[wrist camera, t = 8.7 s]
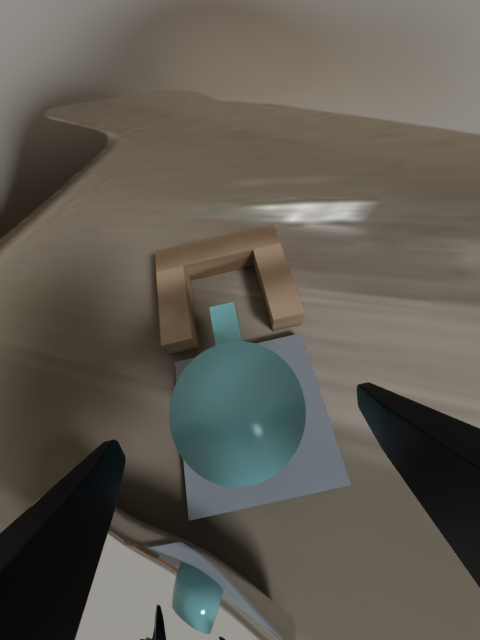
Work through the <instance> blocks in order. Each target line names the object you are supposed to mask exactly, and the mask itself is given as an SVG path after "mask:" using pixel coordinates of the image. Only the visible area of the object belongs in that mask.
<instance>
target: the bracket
mask: <svg viewBox="0 0 480 640" xmlns="http://www.w3.org/2000/svg"><path fill="white" fill-rule="evenodd" d="M155 261H156V276H157V291H158V306H159V321H160V336H161V346H162V347H163V348H165V349H166V350H167V351H169V352H170V353H171V354H175V353H180V352H184V351H188V350H193V349H197V348H200V345H199V338H198V331H197V323H196V316H195V309H194V302H193V294H192V287H191V280H195V279H199V278H203V277H207V276H212V275H216V274H220V273H225V272H229V271H233V270H237V269H242V268H246V267H250V266H255V269H256V273H257V276H258V280H259V283H260V287H261V290H262V294H263V298H264V301H265V305H266V308H267V312H268V315H269V319H270V322H271V326H272V330H273V331H276V330H280V329H284V328H289V327H293V326H298V325H301V323H302V320H303V317H304V314H305V312H304V309H303V306H302V303H301V301H300V298H299V295H298V292H297V289H296V287H295V284H294V281H293V278H292V275H291V272H290V270H289V267H288V264H287V261H286V258H285V256H284V253H283V250H282V247H281V244H280V241H279V239H278V236H277V233H276V230H275V227H274V225H273V224H271V225H266V226H262V227H258V228H254V229H249V230H245V231H241V232H237V233H232V234H228V235H224V236H220V237H215V238H211V239H207V240H203V241H198V242H194V243H190V244H186V245H181V246H177V247H173V248H169V249H164V250H160V251H156V252H155Z"/></svg>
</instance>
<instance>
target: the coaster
mask: <svg viewBox="0 0 480 640" xmlns="http://www.w3.org/2000/svg"><path fill="white" fill-rule="evenodd" d="M256 344H258V345H261V346H264V347H266V348H268V349H270V350H272V351H273V352H275V353H276V354H278V355H279V356H280V357H281V358H282V359H283V360H284V361H285V362H286V363H287V364H288V365H289V366H290V367H291V369H292V370H293V372H294V373H295V375H296V377H297V379H298V381H299V383H300V385H301V388H302V391H303V395H304V399H305V407H306V421H305V428H304V432H303V436H302V439H301V442H300V444H299V446H298V449H297V450H296V452H295V454H294V455H293V457H292V458H291V460H290V461H289V462H288V463H287V465H286V466H285V467H284V468H283V469H281V470H280V471H279V472H278V473H277V474H275V475H274V476H273V477H271V478H270V479H268V480H265V481H263V482H261V483H259V484H255V485H252V486H247V487H227V486H221V485H218V484H215V483H212V482H210V481H208V480H206V479H204V478H202V477H201V476H200V475H198V474H197V473H196V472H194V471H193V470H192V469H191V468H190V467H189V466H188V465H187V463H186V462H185V461H184V459H183V461H184V473H185V484H186V495H187V506H188V518H189V521H191V520H195V519H200V518H204V517H209V516H213V515H218V514H222V513H227V512H232V511H236V510H241V509H245V508H250V507H254V506H259V505H263V504H268V503H273V502H277V501H282V500H286V499H291V498H295V497H300V496H304V495H309V494H314V493H318V492H323V491H327V490H332V489H336V488H341V487H345V486H350V485H351V483H350V480H349V477H348V474H347V471H346V468H345V465H344V462H343V459H342V456H341V453H340V450H339V447H338V444H337V441H336V438H335V435H334V432H333V429H332V426H331V423H330V420H329V417H328V414H327V411H326V408H325V405H324V402H323V399H322V396H321V393H320V390H319V387H318V384H317V381H316V378H315V375H314V372H313V369H312V366H311V363H310V360H309V357H308V354H307V351H306V348H305V345H304V342H303V339H302V336H301V333H300V334H295V335H291V336H286V337H282V338H278V339H273V340H269V341H265V342H260V343H256ZM193 359H194V358H190V359H186V360H181V361H177V362H175V372H176V383H177V381H178V379H179V377H180V375H181V374H182V372H183V371H184V369H185V368H186V367H187V366H188V364H189V363H190V362H191V361H192V360H193Z"/></svg>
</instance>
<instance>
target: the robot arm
mask: <svg viewBox="0 0 480 640" xmlns="http://www.w3.org/2000/svg"><path fill="white" fill-rule="evenodd" d="M357 400H358V406H359V409H360V411H361V412H362V414H363V416H364V418H365V420H366V421H367V423H368V425H369V427H370V428H371V430H372V432H373V434H374V436H375V437H376V439H377V441H378V443H379V444H380V446H381V448H382V449H383V451H384V452H385V454H386V455H387V457H388V458H389V460H390V461H391V462H392V464H393V465H394V467H395V468H396V469H397V471H398V472H399V474H400V475H401V477H402V478H403V479H404V481H405V482H406V484H407V485H408V486H409V488H410V489H411V491H412V492H413V494H414V495H415V496H416V498H417V499H418V501H419V502H420V504H421V505H422V506H423V508H424V509H425V511H426V512H427V513H428V515H429V516H430V518H431V519H432V521H433V522H434V523H435V525H436V526H437V528H438V529H439V530H440V532H441V533H442V535H443V536H444V538H445V539H446V540H447V542H448V543H449V545H450V546H451V547H452V549H453V550H454V552H455V553H456V555H457V556H458V557H459V559H460V560H461V562H462V563H463V564H464V566H465V567H466V569H467V570H468V572H469V573H470V574H471V576H472V577H473V579H474V580H475V582H476V583H477V584H478V586H479V587H480V429H479V428H477V427H475V426H472V425H470V424H467V423H465V422H463V421H460V420H458V419H455V418H453V417H451V416H448V415H446V414H444V413H441V412H439V411H436V410H434V409H432V408H429V407H427V406H424V405H422V404H420V403H417V402H415V401H412V400H410V399H408V398H405V397H403V396H400V395H398V394H396V393H393V392H391V391H389V390H386V389H384V388H381V387H379V386H377V385H374V384H372V383H369V382H367V383H363V384H359V385H357ZM125 460H126V459H125V455H124V453H123V451H122V449H121V447H120V445H119V443H118V441H117V440H110V441H106V442H103V443H102V444H101V445H100V446H99V447H98V448H96V449H95V450H94V451H93V452H92V453H91V454H90V455H88V456H87V457H86V458H85V459H84V460H83V461H82V462H81V463H79V464H78V465H77V466H76V467H75V468H74V469H73V470H72V471H70V472H69V473H68V474H67V475H66V476H65V477H64V478H62V479H61V480H60V481H59V482H58V483H57V484H56V485H55V486H53V487H52V488H51V489H50V490H49V491H48V492H47V493H46V494H44V495H43V496H42V497H41V498H40V499H39V500H38V501H36V502H35V503H34V504H33V505H32V506H31V507H30V508H29V509H27V510H26V511H25V512H24V513H23V514H22V515H21V516H19V517H18V518H17V519H16V520H15V521H14V522H13V523H12V524H10V525H9V526H8V527H7V528H6V529H5V530H4V531H3V532H1V533H0V640H75V638H76V635H77V632H78V628H79V625H80V622H81V619H82V616H83V612H84V609H85V606H86V603H87V599H88V596H89V593H90V590H91V586H92V583H93V580H94V577H95V573H96V570H97V567H98V564H99V560H100V557H101V554H102V551H103V547H104V544H105V541H106V538H107V534H108V531H109V528H110V525H111V521H112V518H113V515H114V511H115V508H116V504H117V499H118V495H119V490H120V485H121V481H122V476H123V471H124V466H125Z"/></svg>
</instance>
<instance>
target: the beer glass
mask: <svg viewBox="0 0 480 640" xmlns="http://www.w3.org/2000/svg"><path fill="white" fill-rule="evenodd" d="M47 492H48V491H47ZM47 492H46V493H47ZM46 493H45V494H46ZM42 496H43V495H42ZM42 496H41V497H42ZM41 497H40V498H41ZM40 498H39V499H40ZM39 499H38V500H39ZM38 500H37V501H38ZM35 502H36V501H35ZM35 502H34V503H35ZM34 503H33V504H34ZM33 504H32V505H33ZM32 505H31V506H32ZM31 506H30V507H31ZM30 507H29V508H30ZM29 508H28V509H29ZM75 640H295V626H294V621H293V618H292V616H291V615H289V614H287V613H286V612H285V611H283V610H282V609H281V608H280V607H279V606H277V605H276V604H275V603H274V602H273V601H272V600H270V599H269V598H268V597H267V596H266V595H265V594H264V593H263V592H261V591H260V590H259V589H258V588H257V587H255V586H254V585H253V584H252V583H251V582H249V581H248V580H247V579H246V578H245V577H243V576H242V575H241V574H240V573H238V572H237V571H236V570H234V569H233V568H232V567H230V566H229V565H228V564H226V563H225V562H223V561H222V560H220V559H219V558H217V557H216V556H214V555H213V554H211V553H210V552H208V551H207V550H205V549H203V548H201V547H199V546H197V545H195V544H193V543H191V542H189V541H187V540H185V539H182V538H180V537H178V536H175V535H173V534H171V533H168V532H166V531H163V530H161V529H159V528H156V527H154V526H151V525H149V524H146V523H144V522H142V521H140V520H138V519H136V518H133V517H132V516H130V515H128V514H127V513H125V512H124V511H122V510H121V509H119V508H118V507H117V506H116V508H115V511H114V515H113V518H112V521H111V525H110V528H109V531H108V534H107V538H106V541H105V544H104V547H103V551H102V554H101V557H100V560H99V564H98V567H97V570H96V573H95V577H94V580H93V583H92V586H91V590H90V593H89V596H88V599H87V603H86V606H85V609H84V612H83V616H82V619H81V622H80V625H79V628H78V632H77V635H76V638H75Z"/></svg>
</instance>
